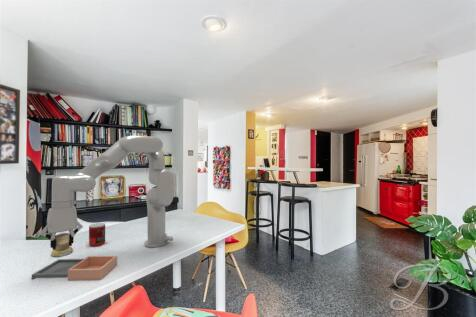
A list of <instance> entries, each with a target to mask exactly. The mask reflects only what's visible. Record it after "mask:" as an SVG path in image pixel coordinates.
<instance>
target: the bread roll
mask: <svg viewBox="0 0 476 317" xmlns="http://www.w3.org/2000/svg"><path fill="white" fill-rule="evenodd" d="M73 250H74V249H73V247H72V246H69V249H67V250H64V251H55V250H53V249H52V251H51V253H50V254H51V257H52V256H53V257H55V258H59V257H60V258H61V257H65V256H67V255H70V254H71V253H72V252H73Z"/></svg>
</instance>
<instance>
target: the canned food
mask: <svg viewBox="0 0 476 317" xmlns="http://www.w3.org/2000/svg"><path fill="white" fill-rule="evenodd" d="M105 243H106V223H104V222H98V223H92V224H90V225H88V245H89V247H91V248H93V247H94V248H96V247H101V246H103V245H104V244H105Z"/></svg>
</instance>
